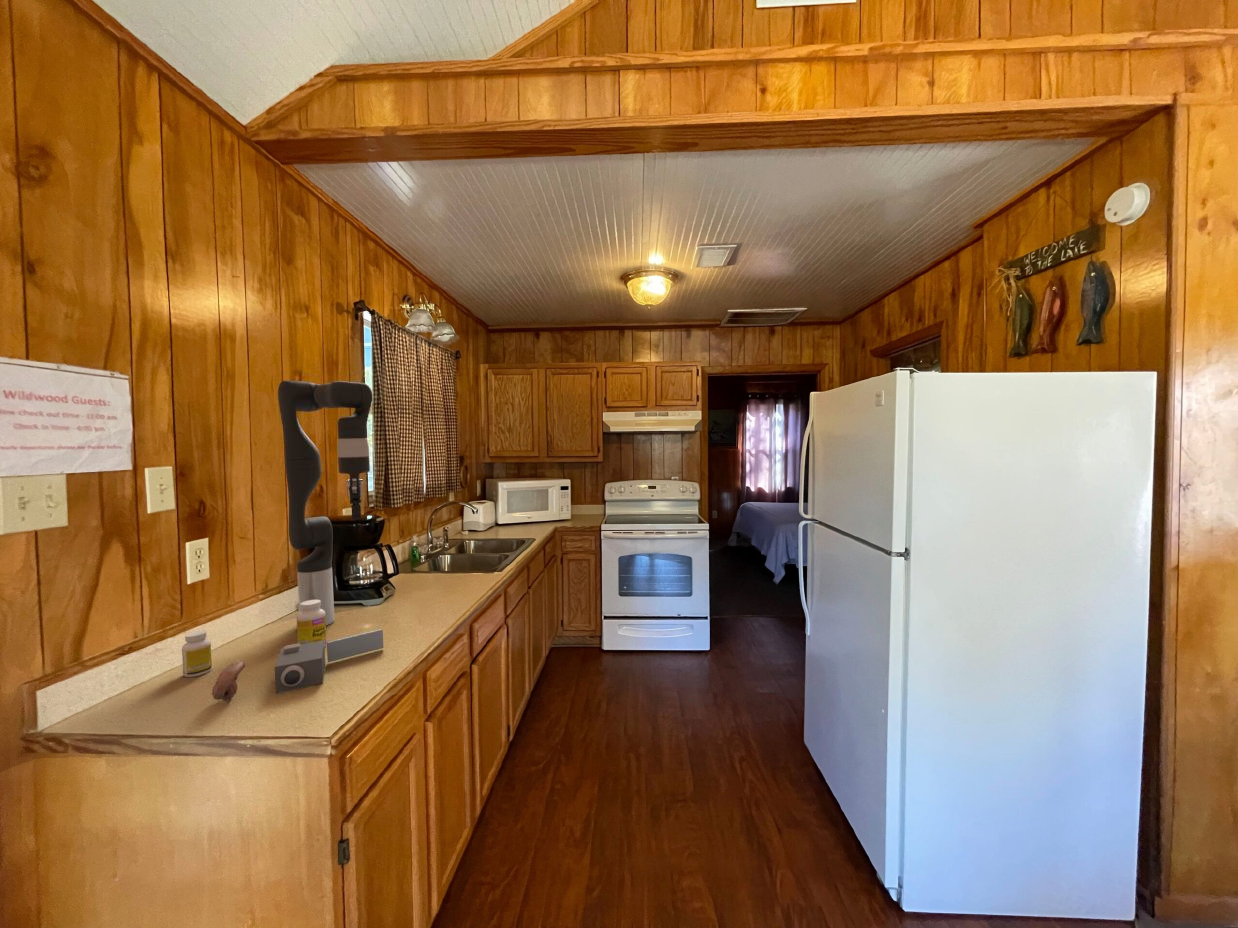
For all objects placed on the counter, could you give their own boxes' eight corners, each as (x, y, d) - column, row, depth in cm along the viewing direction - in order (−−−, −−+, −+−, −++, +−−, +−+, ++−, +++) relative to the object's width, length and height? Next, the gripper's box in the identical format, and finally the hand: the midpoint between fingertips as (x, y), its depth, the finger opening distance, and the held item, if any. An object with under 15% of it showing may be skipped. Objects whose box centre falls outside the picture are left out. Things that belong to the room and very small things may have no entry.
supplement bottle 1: (217, 669, 124) (215, 630, 124) (192, 679, 119) (190, 638, 119) (202, 666, 126) (200, 628, 125) (177, 676, 121) (175, 636, 120)
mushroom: (227, 710, 104) (225, 673, 104) (199, 710, 104) (197, 673, 104) (256, 692, 111) (254, 657, 111) (230, 692, 112) (228, 657, 112)
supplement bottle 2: (313, 654, 132) (310, 606, 131) (292, 653, 133) (289, 605, 132) (332, 644, 138) (330, 598, 138) (312, 643, 139) (309, 597, 139)
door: (328, 662, 125) (327, 642, 125) (327, 660, 126) (326, 641, 126) (383, 647, 134) (382, 629, 133) (382, 646, 135) (381, 628, 134)
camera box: (282, 672, 121) (281, 643, 121) (325, 663, 126) (324, 636, 125) (275, 696, 109) (273, 665, 109) (322, 686, 114) (321, 656, 113)
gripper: (368, 455, 131) (371, 520, 132) (369, 454, 143) (372, 514, 144) (336, 456, 128) (339, 523, 129) (339, 455, 140) (342, 517, 140)
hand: (356, 518), depth 136 cm, fingers closed
